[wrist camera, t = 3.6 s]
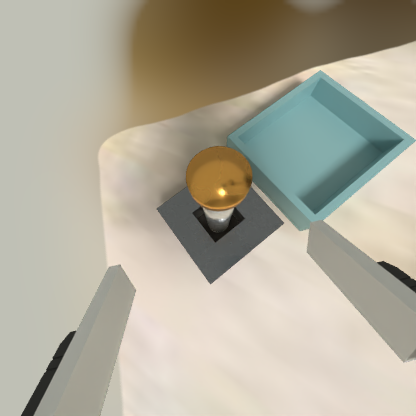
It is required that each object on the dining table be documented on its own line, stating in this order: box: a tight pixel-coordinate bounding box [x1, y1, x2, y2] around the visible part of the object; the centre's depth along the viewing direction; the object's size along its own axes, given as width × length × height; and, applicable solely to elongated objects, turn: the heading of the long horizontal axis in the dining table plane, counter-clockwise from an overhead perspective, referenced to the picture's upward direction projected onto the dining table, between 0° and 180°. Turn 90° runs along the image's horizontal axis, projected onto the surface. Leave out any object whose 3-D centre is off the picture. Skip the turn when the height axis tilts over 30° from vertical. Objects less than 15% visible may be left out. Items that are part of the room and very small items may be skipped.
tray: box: [227, 70, 416, 231], centre depth 25 cm, size 18×16×4 cm
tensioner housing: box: [157, 186, 284, 284], centre depth 23 cm, size 11×11×4 cm
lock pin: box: [186, 146, 252, 232], centre depth 18 cm, size 4×4×15 cm
